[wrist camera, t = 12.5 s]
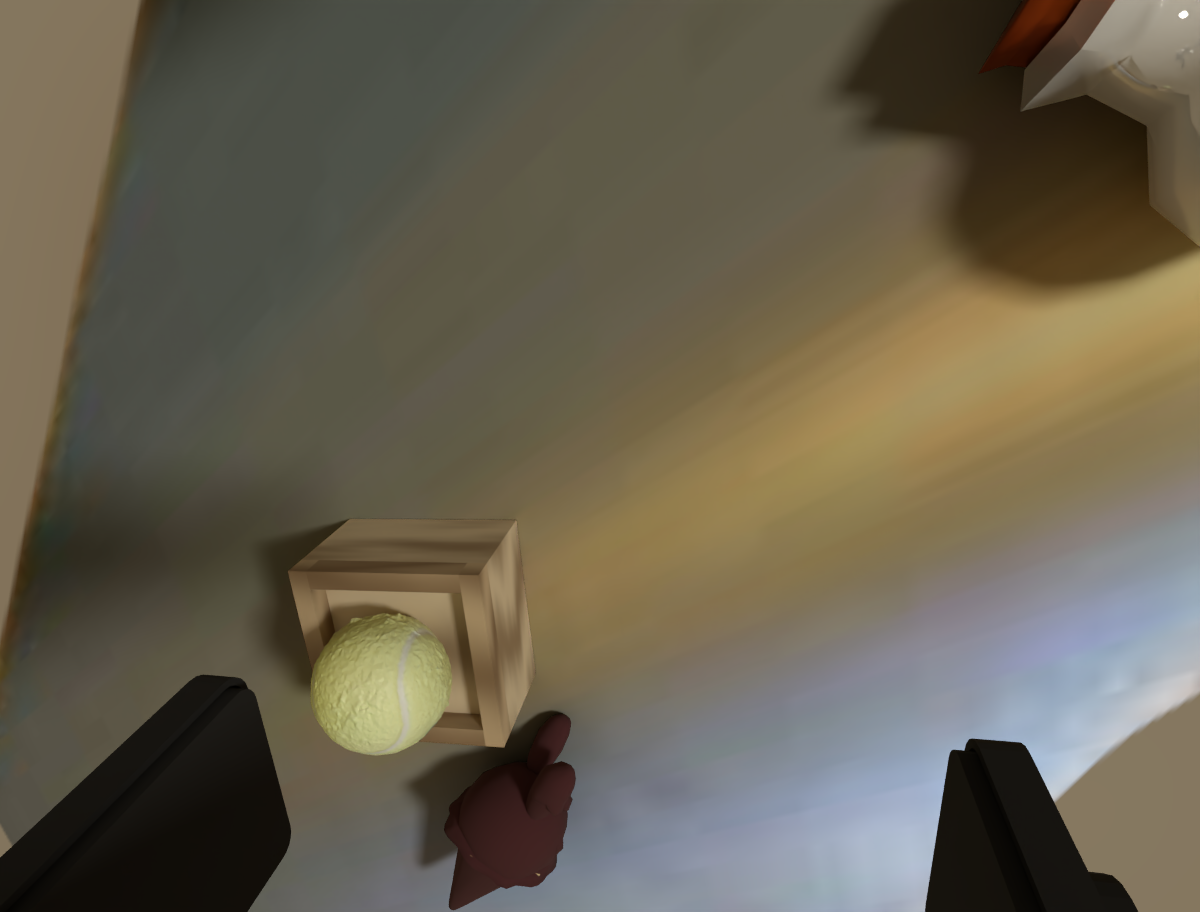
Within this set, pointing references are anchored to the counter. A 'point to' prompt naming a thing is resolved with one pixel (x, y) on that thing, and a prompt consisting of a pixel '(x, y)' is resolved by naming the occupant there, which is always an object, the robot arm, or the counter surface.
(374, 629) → the tennis ball
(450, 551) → the wooden box
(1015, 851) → the robot arm
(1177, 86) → the potion bottle
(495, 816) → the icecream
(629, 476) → the counter surface
